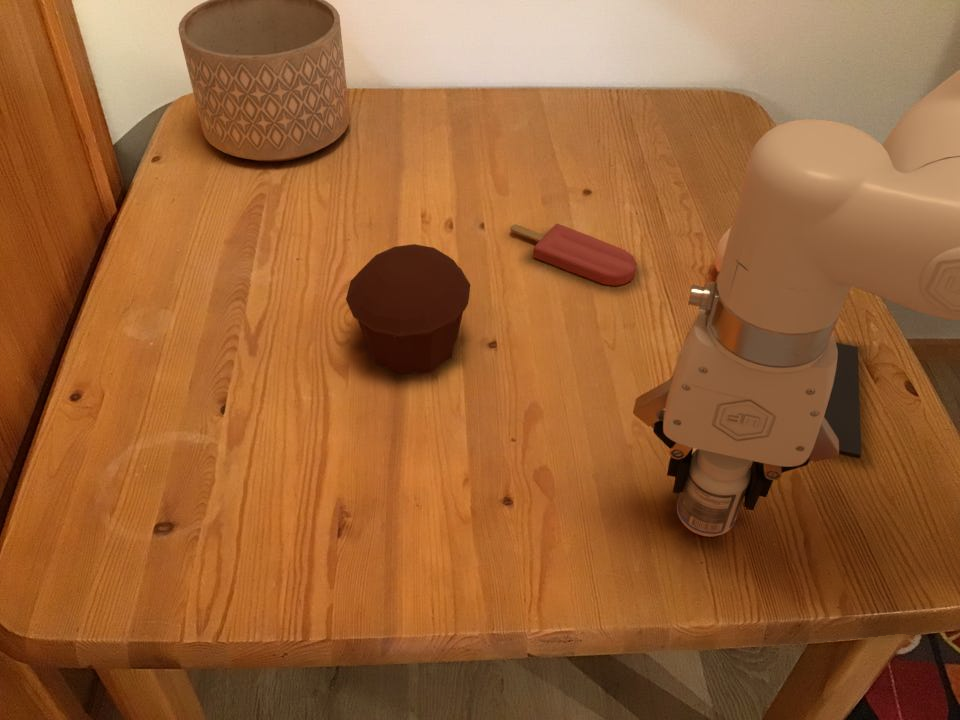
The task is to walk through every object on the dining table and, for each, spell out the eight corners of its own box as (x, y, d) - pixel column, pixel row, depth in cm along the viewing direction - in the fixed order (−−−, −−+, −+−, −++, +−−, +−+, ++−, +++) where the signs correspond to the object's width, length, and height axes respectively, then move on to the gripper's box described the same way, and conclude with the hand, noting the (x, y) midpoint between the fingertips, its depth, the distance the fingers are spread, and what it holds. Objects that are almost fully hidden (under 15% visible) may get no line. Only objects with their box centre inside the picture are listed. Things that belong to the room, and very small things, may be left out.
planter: (353, 93, 117) (342, -12, 107) (348, 168, 104) (336, 56, 94) (215, 96, 116) (192, -11, 105) (194, 172, 103) (164, 59, 92)
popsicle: (523, 209, 96) (645, 255, 91) (523, 220, 97) (642, 266, 92) (499, 233, 93) (623, 282, 87) (498, 244, 94) (621, 293, 88)
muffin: (396, 289, 88) (390, 210, 81) (490, 325, 85) (492, 246, 78) (329, 360, 81) (316, 280, 74) (429, 403, 77) (426, 323, 70)
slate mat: (856, 349, 83) (857, 346, 83) (859, 458, 74) (861, 455, 73) (712, 320, 86) (713, 318, 86) (698, 422, 76) (698, 419, 76)
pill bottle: (706, 481, 71) (727, 415, 65) (747, 521, 69) (772, 456, 63) (663, 506, 70) (681, 441, 64) (703, 548, 67) (725, 484, 61)
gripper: (628, 328, 53) (598, 500, 66) (917, 384, 49) (826, 553, 62) (645, 256, 58) (615, 428, 71) (909, 302, 54) (826, 474, 67)
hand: (714, 485), depth 66 cm, fingers closed on pill bottle, 4 cm apart
